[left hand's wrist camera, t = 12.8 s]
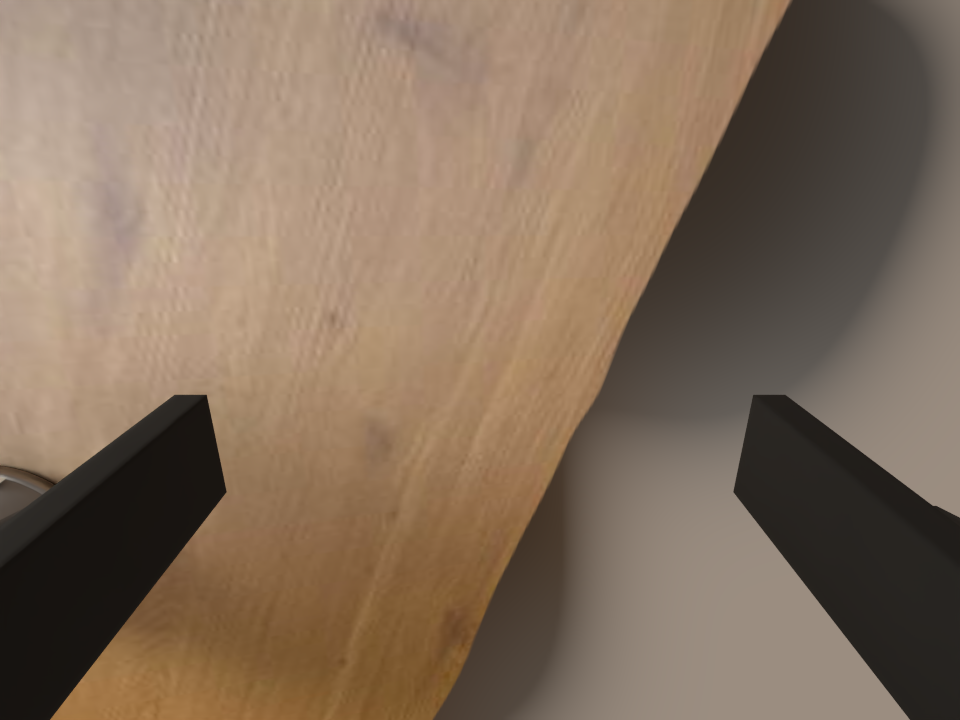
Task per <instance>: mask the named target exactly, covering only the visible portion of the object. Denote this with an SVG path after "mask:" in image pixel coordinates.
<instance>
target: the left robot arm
mask: <svg viewBox="0 0 960 720" xmlns="http://www.w3.org/2000/svg"><path fill="white" fill-rule="evenodd" d="M225 493H226V487H225V482H224V477H223V472H222V467H221V462H220V458H219V453H218V448H217V443H216V438H215V433H214V428H213V423H212V419H211V414H210V409H209V404H208V399H207V395H174V396H173V397H171V398H170V399H169V400H167V401H166V402H165V403H163V404H162V405H161V406H159V407H158V408H157V409H155V410H154V411H153V412H151V413H150V414H149V415H147V416H146V417H145V418H143V419H142V420H141V421H139V422H138V423H137V424H135V425H134V426H133V427H131V428H130V429H129V430H127V431H126V432H125V433H123V434H122V435H121V436H119V437H118V438H117V439H115V440H114V441H113V442H111V443H110V444H109V445H108V446H106V447H105V448H104V449H102V450H101V451H100V452H98V453H97V454H96V455H94V456H93V457H92V458H90V459H89V460H88V461H86V462H85V463H84V464H82V465H81V466H80V467H78V468H77V469H76V470H74V471H73V472H72V473H70V474H69V475H68V476H66V477H65V478H64V479H62V480H61V481H60V482H58V483H57V484H56V485H54V484H52V483H50V482H49V481H47V480H45V479H43V478H41V477H38V476H36V475H33V474H31V473H28V472H25V471H22V470H19V469H15V468H10V467H5V466H0V720H50V719H51V718H52V716H53V715H54V714H55V712H56V711H57V710H58V709H59V707H60V706H61V705H62V703H63V702H64V701H65V700H66V698H67V697H68V696H69V694H70V693H71V692H72V691H73V689H74V688H75V687H76V685H77V684H78V683H79V682H80V680H81V679H82V678H83V676H84V675H85V674H86V673H87V671H88V670H89V669H90V667H91V666H92V665H93V664H94V662H95V661H96V660H97V658H98V657H99V656H100V654H101V653H102V652H103V651H104V649H105V648H106V647H107V645H108V644H109V643H110V642H111V640H112V639H113V638H114V636H115V635H116V634H117V633H118V631H119V630H120V629H121V627H122V626H123V625H124V624H125V622H126V621H127V620H128V618H129V617H130V616H131V615H132V613H133V612H134V611H135V609H136V608H137V607H138V606H139V604H140V603H141V602H142V600H143V599H144V598H145V596H146V595H147V594H148V593H149V591H150V590H151V589H152V587H153V586H154V585H155V584H156V582H157V581H158V580H159V578H160V577H161V576H162V575H163V573H164V572H165V571H166V569H167V568H168V567H169V566H170V564H171V563H172V562H173V560H174V559H175V558H176V557H177V555H178V554H179V553H180V551H181V550H182V549H183V548H184V546H185V545H186V544H187V542H188V541H189V540H190V538H191V537H192V536H193V535H194V533H195V532H196V531H197V529H198V528H199V527H200V526H201V524H202V523H203V522H204V520H205V519H206V518H207V517H208V515H209V514H210V513H211V511H212V510H213V509H214V508H215V506H216V505H217V504H218V502H219V501H220V500H221V499H222V497H223V496H224V495H225ZM734 493H735V495H736V496H737V497H738V499H739V500H740V501H741V502H742V504H743V505H744V506H745V508H746V509H747V510H748V511H749V513H750V514H751V515H752V517H753V518H754V519H755V520H756V522H757V523H758V524H759V526H760V527H761V528H762V529H763V531H764V532H765V533H766V535H767V536H768V537H769V538H770V540H771V541H772V542H773V544H774V545H775V546H776V548H777V549H778V550H779V551H780V553H781V554H782V555H783V557H784V558H785V559H786V560H787V562H788V563H789V564H790V566H791V567H792V568H793V569H794V571H795V572H796V573H797V575H798V576H799V577H800V578H801V580H802V581H803V582H804V584H805V585H806V586H807V587H808V589H809V590H810V591H811V593H812V594H813V595H814V596H815V598H816V599H817V600H818V602H819V603H820V604H821V606H822V607H823V608H824V609H825V611H826V612H827V613H828V615H829V616H830V617H831V618H832V620H833V621H834V622H835V624H836V625H837V626H838V627H839V629H840V630H841V631H842V633H843V634H844V635H845V636H846V638H847V639H848V640H849V642H850V643H851V644H852V645H853V647H854V648H855V649H856V651H857V652H858V653H859V654H860V656H861V657H862V658H863V660H864V661H865V662H866V664H867V665H868V666H869V667H870V669H871V670H872V671H873V673H874V674H875V675H876V676H877V678H878V679H879V680H880V682H881V683H882V684H883V685H884V687H885V688H886V689H887V691H888V692H889V693H890V694H891V696H892V697H893V698H894V700H895V701H896V702H897V703H898V705H899V706H900V707H901V709H902V710H903V711H904V712H905V714H906V715H907V716H908V718H909V719H910V720H960V518H959V517H957V516H955V515H953V514H951V513H949V512H947V511H945V510H943V509H941V508H939V507H937V506H932V505H931V504H930V503H928V502H927V501H926V500H924V499H923V498H922V497H920V496H919V495H918V494H916V493H915V492H914V491H912V490H911V489H910V488H908V487H907V486H906V485H904V484H903V483H902V482H900V481H899V480H898V479H896V478H895V477H894V476H892V475H891V474H890V473H888V472H887V471H886V470H884V469H883V468H882V467H880V466H879V465H878V464H876V463H875V462H874V461H872V460H871V459H870V458H868V457H867V456H866V455H864V454H863V453H862V452H860V451H859V450H858V449H856V448H855V447H854V446H852V445H851V444H850V443H849V442H847V441H846V440H845V439H843V438H842V437H841V436H839V435H838V434H837V433H835V432H834V431H833V430H831V429H830V428H829V427H827V426H826V425H825V424H823V423H822V422H821V421H819V420H818V419H817V418H815V417H814V416H813V415H811V414H810V413H809V412H807V411H806V410H805V409H803V408H802V407H801V406H799V405H798V404H797V403H795V402H794V401H793V400H791V399H790V398H789V397H787V396H786V395H753V399H752V404H751V409H750V414H749V419H748V423H747V428H746V433H745V438H744V443H743V448H742V453H741V458H740V463H739V468H738V472H737V477H736V482H735V487H734Z"/></svg>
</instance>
